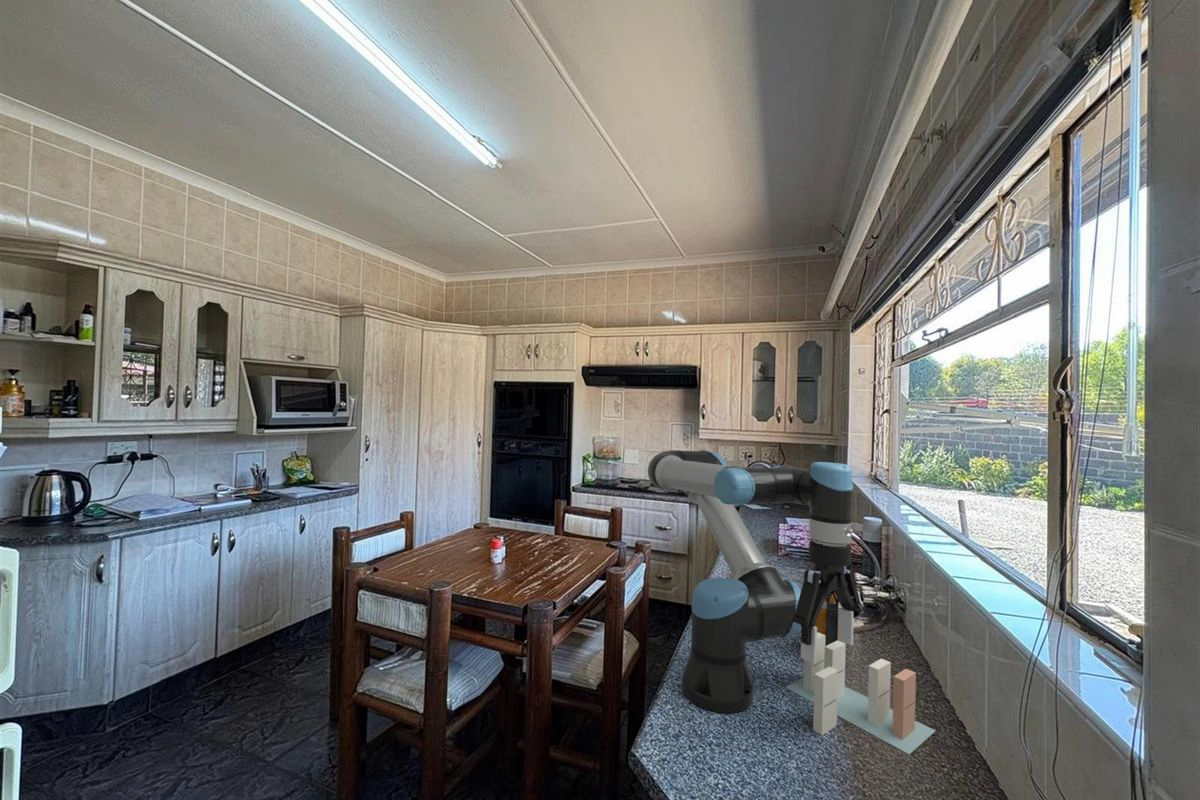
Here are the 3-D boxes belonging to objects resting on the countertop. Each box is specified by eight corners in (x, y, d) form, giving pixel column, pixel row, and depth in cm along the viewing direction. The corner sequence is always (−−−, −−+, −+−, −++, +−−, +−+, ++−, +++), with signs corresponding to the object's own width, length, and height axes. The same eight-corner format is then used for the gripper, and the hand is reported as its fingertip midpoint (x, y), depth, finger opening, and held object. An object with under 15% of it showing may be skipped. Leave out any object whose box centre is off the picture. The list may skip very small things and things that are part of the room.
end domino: (892, 734, 92) (893, 676, 92) (904, 724, 95) (905, 668, 96) (902, 739, 91) (904, 680, 91) (914, 729, 94) (916, 672, 94)
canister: (834, 649, 126) (836, 573, 127) (852, 671, 115) (854, 588, 116) (799, 646, 127) (801, 570, 128) (813, 668, 116) (816, 585, 117)
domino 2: (823, 698, 103) (824, 646, 104) (836, 690, 106) (837, 640, 107) (831, 702, 102) (832, 650, 102) (844, 694, 105) (845, 643, 105)
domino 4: (867, 721, 96) (868, 665, 96) (880, 712, 99) (881, 658, 99) (877, 726, 94) (878, 669, 95) (889, 717, 98) (890, 662, 98)
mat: (785, 688, 107) (785, 687, 107) (814, 673, 114) (814, 671, 114) (909, 755, 87) (909, 754, 87) (935, 732, 94) (935, 730, 94)
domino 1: (803, 687, 107) (804, 637, 107) (816, 680, 110) (817, 632, 111) (811, 691, 106) (812, 641, 106) (824, 684, 109) (825, 635, 109)
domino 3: (812, 731, 93) (814, 674, 93) (827, 721, 96) (829, 666, 96) (822, 737, 91) (823, 678, 91) (836, 727, 94) (838, 670, 94)
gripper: (813, 555, 84) (810, 678, 83) (879, 538, 99) (877, 642, 98) (775, 545, 90) (772, 659, 89) (843, 530, 105) (841, 628, 104)
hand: (827, 651), depth 94 cm, fingers open, 13 cm apart
